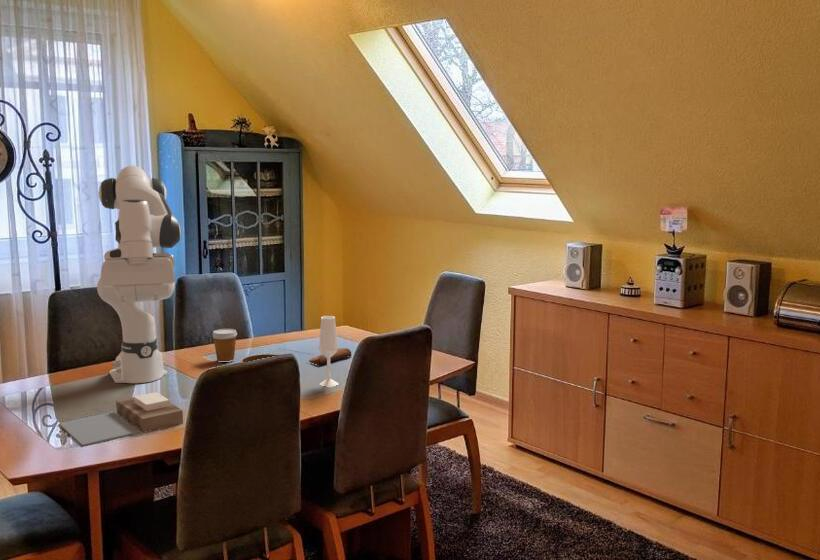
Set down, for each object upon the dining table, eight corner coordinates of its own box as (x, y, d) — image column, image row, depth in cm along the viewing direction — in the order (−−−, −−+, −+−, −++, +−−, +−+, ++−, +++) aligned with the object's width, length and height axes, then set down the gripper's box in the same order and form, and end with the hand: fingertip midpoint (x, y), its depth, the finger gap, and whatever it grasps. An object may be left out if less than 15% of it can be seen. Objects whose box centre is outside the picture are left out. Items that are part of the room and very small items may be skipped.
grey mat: (58, 424, 224) (58, 423, 224) (113, 413, 235) (113, 411, 234) (82, 446, 208) (82, 444, 208) (140, 433, 218) (140, 431, 218)
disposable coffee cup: (231, 365, 290) (230, 334, 288) (208, 363, 292) (207, 333, 290) (242, 358, 299) (241, 329, 297) (220, 357, 301) (219, 327, 299)
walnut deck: (116, 412, 235) (116, 400, 235) (154, 404, 243) (153, 392, 242) (143, 432, 219) (142, 419, 218) (183, 423, 226) (182, 410, 226)
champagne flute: (325, 388, 261) (324, 320, 257) (315, 383, 266) (314, 316, 263) (342, 384, 265) (341, 317, 261) (332, 380, 270) (331, 314, 266)
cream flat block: (134, 402, 232) (134, 396, 232) (156, 398, 237) (156, 392, 236) (146, 411, 225) (146, 404, 224) (169, 406, 229) (169, 399, 229)
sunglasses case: (336, 353, 307) (342, 341, 304) (347, 364, 304) (353, 352, 301) (304, 362, 293) (310, 349, 290) (315, 374, 290) (322, 361, 287)
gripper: (173, 254, 225) (175, 300, 224) (98, 256, 217) (101, 304, 215) (175, 250, 219) (178, 298, 218) (99, 252, 211) (101, 301, 210)
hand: (139, 301), depth 217 cm, fingers open, 8 cm apart
